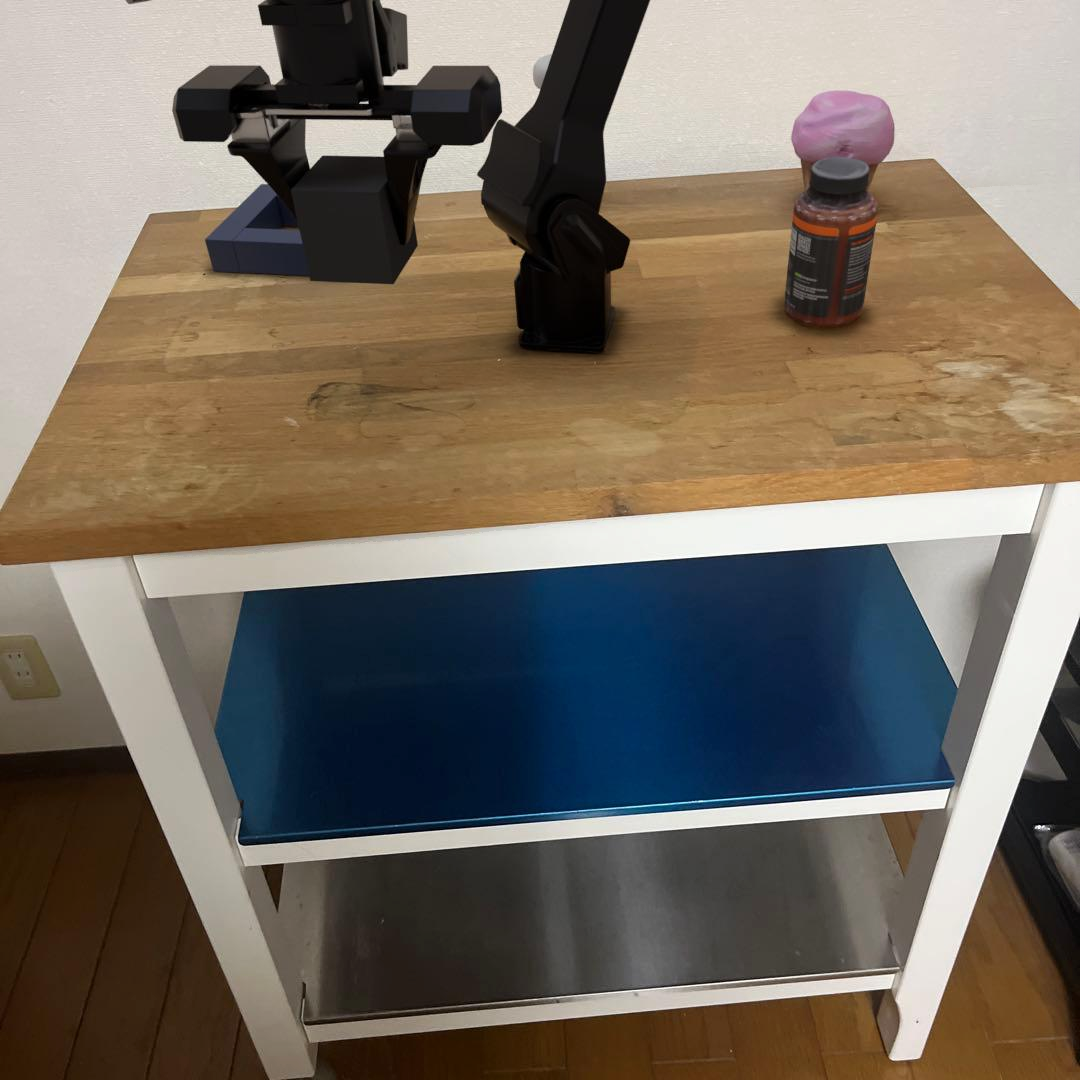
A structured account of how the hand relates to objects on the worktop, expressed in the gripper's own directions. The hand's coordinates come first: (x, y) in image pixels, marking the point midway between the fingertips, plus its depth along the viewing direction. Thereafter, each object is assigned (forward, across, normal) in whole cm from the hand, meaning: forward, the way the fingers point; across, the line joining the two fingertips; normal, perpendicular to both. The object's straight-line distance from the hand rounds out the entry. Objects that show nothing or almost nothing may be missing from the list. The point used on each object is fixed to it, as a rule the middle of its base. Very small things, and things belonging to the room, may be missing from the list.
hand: (362, 240), depth 66 cm
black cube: (+2, 0, 0) cm, 2 cm away
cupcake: (+12, -32, -35) cm, 48 cm away
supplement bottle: (+12, -30, -15) cm, 36 cm away
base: (+12, +15, -24) cm, 30 cm away
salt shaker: (+12, -7, -34) cm, 37 cm away
